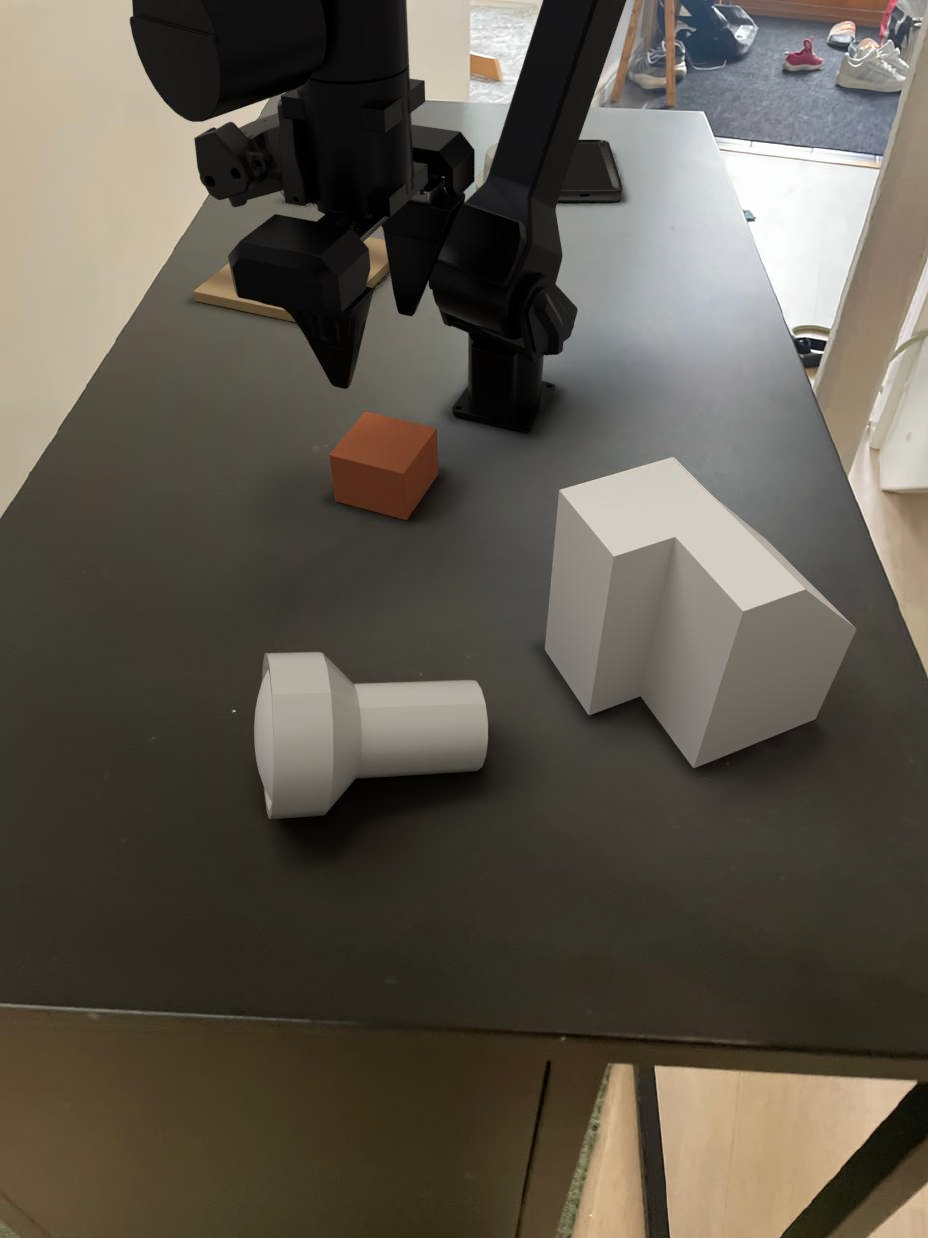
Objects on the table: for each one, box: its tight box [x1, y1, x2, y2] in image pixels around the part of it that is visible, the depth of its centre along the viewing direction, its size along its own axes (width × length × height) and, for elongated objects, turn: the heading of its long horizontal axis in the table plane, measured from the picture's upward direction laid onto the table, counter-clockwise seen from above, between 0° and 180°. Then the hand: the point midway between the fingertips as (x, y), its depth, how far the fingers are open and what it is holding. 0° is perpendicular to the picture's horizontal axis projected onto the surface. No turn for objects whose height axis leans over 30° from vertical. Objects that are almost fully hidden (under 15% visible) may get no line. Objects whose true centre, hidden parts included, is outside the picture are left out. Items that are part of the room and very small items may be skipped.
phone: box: [558, 139, 623, 203], centre depth 102 cm, size 8×1×15 cm
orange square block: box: [328, 411, 439, 521], centre depth 63 cm, size 6×6×4 cm
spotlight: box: [253, 651, 489, 820], centre depth 46 cm, size 8×11×8 cm
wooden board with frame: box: [192, 236, 390, 323], centre depth 86 cm, size 16×14×2 cm
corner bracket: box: [544, 456, 857, 769], centre depth 48 cm, size 11×11×12 cm
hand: (375, 348), depth 57 cm, fingers open, 9 cm apart
